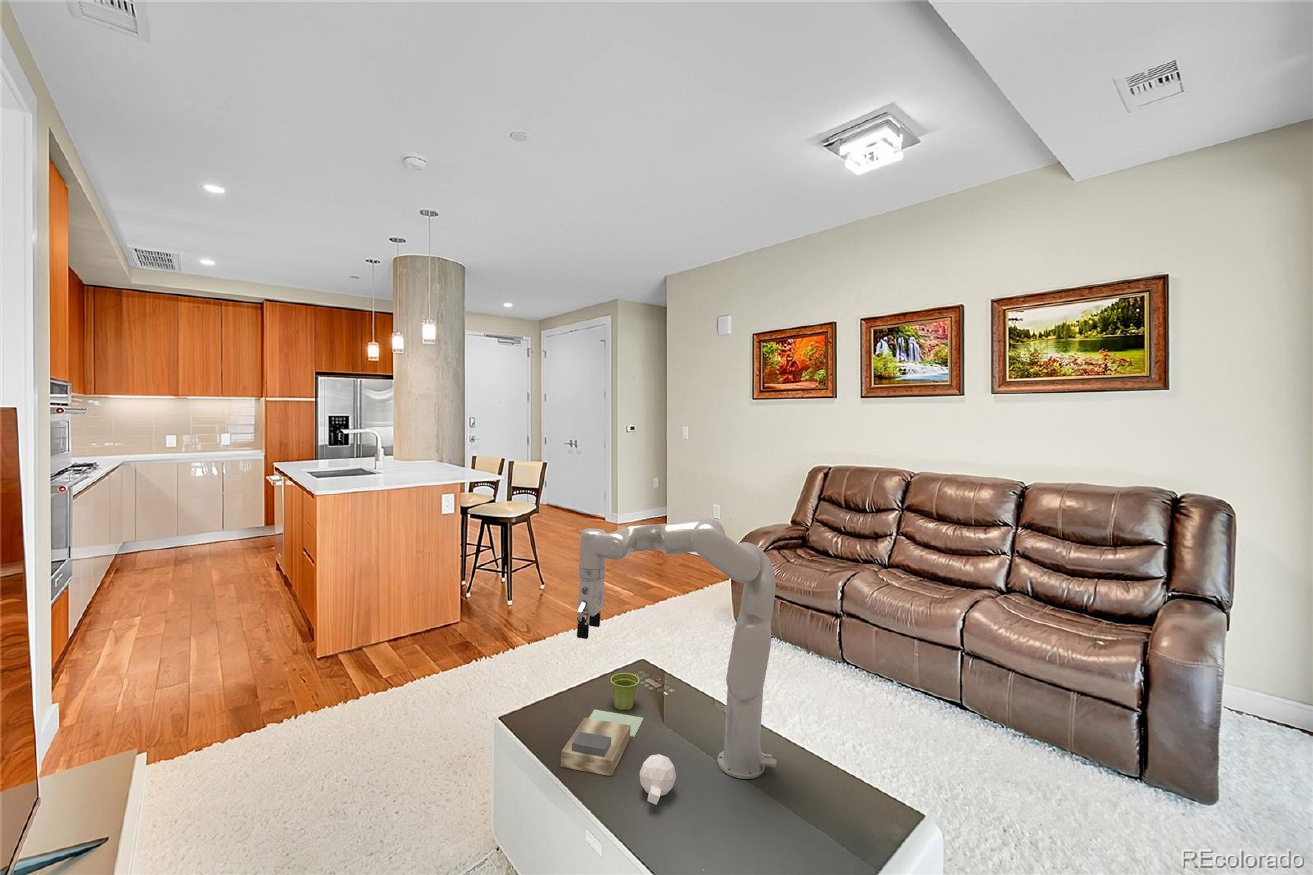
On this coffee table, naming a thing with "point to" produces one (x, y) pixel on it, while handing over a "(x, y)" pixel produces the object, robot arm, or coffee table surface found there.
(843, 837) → the coffee table surface
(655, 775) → the perfume bottle
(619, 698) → the plant pot
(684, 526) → the robot arm
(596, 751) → the grey rectangular block
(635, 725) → the mat
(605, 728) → the light wood flat block
